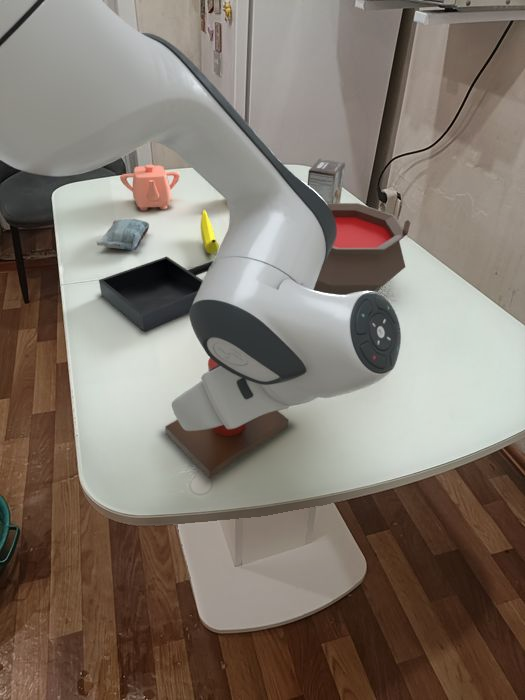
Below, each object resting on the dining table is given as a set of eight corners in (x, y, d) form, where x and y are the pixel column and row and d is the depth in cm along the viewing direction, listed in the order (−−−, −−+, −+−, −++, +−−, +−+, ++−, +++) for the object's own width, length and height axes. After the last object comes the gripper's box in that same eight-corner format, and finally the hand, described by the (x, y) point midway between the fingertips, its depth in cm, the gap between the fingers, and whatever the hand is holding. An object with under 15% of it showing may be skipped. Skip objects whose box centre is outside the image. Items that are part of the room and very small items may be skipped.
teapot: (116, 203, 133) (111, 164, 126) (150, 191, 140) (147, 153, 134) (155, 219, 126) (151, 178, 120) (188, 205, 134) (186, 166, 127)
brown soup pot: (264, 305, 98) (268, 225, 87) (296, 251, 116) (303, 179, 106) (390, 332, 92) (410, 250, 82) (403, 270, 110) (421, 197, 100)
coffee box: (312, 222, 128) (319, 157, 118) (337, 227, 127) (346, 161, 117) (301, 237, 121) (308, 169, 111) (327, 242, 120) (336, 174, 110)
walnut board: (209, 478, 65) (209, 471, 64) (165, 433, 71) (165, 426, 70) (287, 426, 73) (288, 419, 72) (242, 390, 79) (242, 382, 78)
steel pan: (144, 332, 89) (141, 315, 87) (101, 295, 98) (98, 279, 96) (248, 287, 103) (248, 271, 100) (202, 258, 111) (202, 243, 109)
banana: (210, 228, 123) (210, 203, 119) (221, 267, 108) (221, 239, 105) (198, 229, 122) (197, 204, 119) (207, 268, 108) (207, 240, 104)
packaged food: (98, 254, 111) (94, 233, 108) (115, 230, 120) (112, 210, 117) (137, 257, 110) (135, 236, 107) (151, 233, 120) (150, 214, 117)
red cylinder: (225, 442, 68) (224, 380, 61) (202, 421, 71) (200, 360, 64) (253, 424, 71) (255, 363, 64) (230, 405, 74) (230, 344, 67)
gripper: (331, 308, 61) (271, 335, 73) (192, 380, 50) (148, 399, 62) (354, 355, 62) (291, 375, 73) (221, 437, 51) (171, 445, 62)
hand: (224, 386), depth 67 cm, fingers closed on red cylinder, 5 cm apart
